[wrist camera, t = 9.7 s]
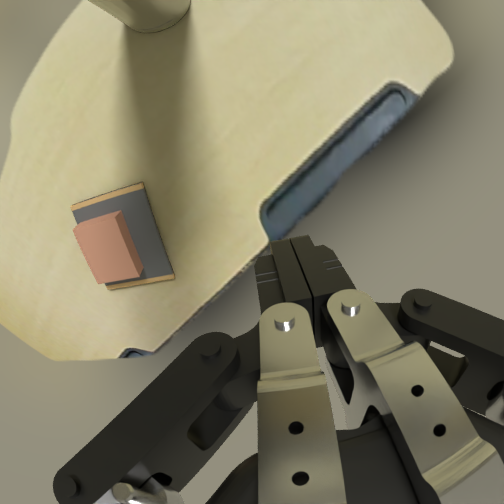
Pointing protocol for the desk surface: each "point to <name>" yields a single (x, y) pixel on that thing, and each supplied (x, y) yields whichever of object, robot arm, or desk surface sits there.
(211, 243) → the desk surface
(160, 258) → the mat
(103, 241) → the slab
